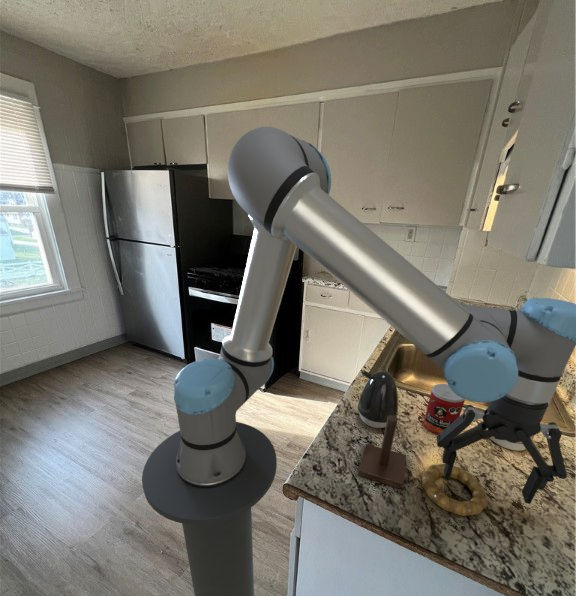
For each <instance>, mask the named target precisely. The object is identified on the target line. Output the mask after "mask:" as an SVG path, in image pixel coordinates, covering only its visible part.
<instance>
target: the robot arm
mask: <svg viewBox="0 0 576 596" xmlns="http://www.w3.org/2000/svg"><path fill="white" fill-rule="evenodd" d="M227 179H228V180H227V181H228V185H229V188H230V191H231V194H232V196H233V197H234V199H235V201H236V202H237V204H238V205H239V206H240V208H241V209H242V210H243V211H244V212H245V213H246V214H247V215H248V218H249V220H250V222H251V224H252V225H253V233H252V236H251V242H250V246H249V251H248V256H247V260H246V264H245V265H246V266H245V269H244V274H243V279H242V284H241V288H240V292H239V298H238V303H237V307H236V311H235V315H234V320H233V325H232V330H231V333H229V334H227V335H225V337H224V338H223V339H222V344H221V349H220V352H219V357H218V358H203V359H201V360H200V361H199V360H195V361H193V362H191V363H189V364H187V365H186V366H184V367H182V368H181V370H180V371H179V372H178V373H177V374H176V376H175V379H174V381H173V382H174V383H173V391H174V392H173V399H174V400H173V401H174V404H175V408H176V414H177V420H178V427H179V431H180V433H181V442H180V446H179V450H178V454H177V458H176V467H177V473H178V475H179V477H180V478H181V480H182V481H184V482H185V483H186V484H188V485H190V486H193V487H197V488H213V487H218V486H221V485H224V484H226V483H228V482H230V481H231V480H233V479H234V478H236V477H237V476H238V475H239V474H240V472H241V471H242V470H243V468H244V466H245V462H246V451H245V447H244V444H243V442H242V441H241V440H240V437H239V435H238V432H237V430H236V422H237V412H238V410H239V409H240V408H241V407H243V405H244V404H245V403H246V402H247V401H248V400H249V399H251V397H252V396H253V395H254V394H255V393H256V392H257V391H259V389H261V388H262V387H263V386H265V384H266V383H267V382H268V381H269V379H270V377H271V376H272V374H273V371H274V368H275V367H274V366H275V361H274V357H273V348H272V345H271V344H270V343H269V342H270V339H271V336H272V333H273V329H274V325H275V322H276V319H277V315H278V312H279V310H280V306H281V302H282V299H283V295H284V292H285V288H286V285H287V282H288V278H289V274H290V272H291V268H292V264H293V261H294V257H295V255H296V252H297V248H298V249H299V250H300V251H302V252H303V253H305V255H307V256H308V257H309V258H310V259H311V260H312V261H314V262H315V263H316V264H317V265H318V266H320V267H321V268H322V269H323V270H324V271H325V272H327V273H328V274H329V275H330V276H332V277H333V278H334V279H335V280H336V281H337V282H338V283H340V284H341V285H342V286H343V287H345V289H347V290H348V291H349V292H350V293H352V294H353V295H354V296H355V297H356V298H358V299H359V301H361V302H362V303H363V304H364V305H366V306H367V307H368V308H369V309H371V310H372V311H373V312H374V313H375V314H376V315H378V316H379V317H380V318H381V319H382V320H383V321H385V323H387V324H388V325H389V326H390V327H392V328H393V329H394V330H395V331H396V332H398V333H399V334H400V335H401V336H403V337H404V338H405V339H406V340H407V341H408V342H409V343H410V344H412V345H413V346H414V347H416V348H417V349H418V350H419V351H420V352H421V353H423V354H424V355H425V356H426V357H427V358H428V359H430V360H431V361H432V362H433V364H435V365H436V366H437V367H438V368H439V369H441V370H442V371H443V377H444V379H445V380H446V384H448V385H449V387H450V388H451V390H452V391H453V392H454V393H455V394H456V395H458V396H459V397H461V398H463V399H465V401H469V402H473V403H488V405H487V407H486V409H485V410H480V409H477V408H475V407H474V405H472V404H467V405H466V407H465V408H464V411H463V413H462V414H460V417H458V418H457V419H456V420H455V421H454V422H453V423H451V424H450V425H449V426H448V427H447V428H446V429H444V430H443V431H442V432H441V433H440V434H436V447H438V448H442V449H443V452H442V455H441V459H442V464H446V465H445V468H444V476H443V478H444V480H445V481H449V480H450V478H451V477H450V475H451V471H452V468H453V466H454V465H455V462H456V459H457V457H458V454H457V451H459V450H461V449H464V448H466V447H467V446H470V445H472V444H475V443H477V442H479V441H481V440H488V439H490V437H492V436H493V437H495V439H498V440H506V441H508V442H511V443H516V442H522V444H523V445H524V447H525V448H526V449H525V450H526V451H527V453H529V456H530V457H531V459H532V460H533V461H534V463H535V464H536V466H535V465H534V466H533V467H532V469H531V470H530V473H529V475H528V478H527V479H526V481H525V483H524V486H523V488H522V490H521V494H522V498H523V501H524V503H525V504H528V505H531V503H532V501H533V500H534V497H535V496H536V494H537V491H538V490H541V491H543V490H544V489H545V488H546V486H547V484H548V483H550V482H554V481H555V477H556V478H559V479H561V480H565V479H567V478H568V475H567V471H566V467H565V462H564V458H563V454H562V449H561V445H560V441H561V437H562V430H560V428H559V426H558V424H557V423H556V422H555V421H550V422H548V423H547V424H546V423H542V421H543V419H544V416H545V414H546V412H547V411H548V408H549V406H548V405H550V403H551V401H552V399H553V397H554V394H555V392H556V391H557V387H558V385H559V383H560V380H561V378H562V375H563V374H564V371H565V369H566V366H567V365H568V362H569V360H570V358H571V356H572V354H573V353H574V350H575V348H576V303H575V302H571V301H566V300H563V299H558V298H557V299H556V298H549V297H541V298H540V297H532V298H529V299H527V300H526V301H525V302H524V304H523V306H522V307H521V308H520V310H518V309H513V310H512V309H503V308H495V307H487V306H482V305H481V306H480V305H472V304H464V303H463V302H458V301H457V300H456V299H455V298H453V297H452V296H451V295H449V294H448V293H447V292H446V291H445V290H443V288H441V287H440V286H439V285H438V284H436V283H435V282H434V281H433V280H431V279H430V278H429V277H428V276H427V275H425V273H423V272H422V271H421V270H420V269H418V268H417V267H416V266H415V265H414V264H412V263H411V262H410V261H409V260H407V259H406V258H405V257H404V256H403V255H401V253H400V252H398V251H397V250H395V248H393V247H392V246H391V245H390V244H388V243H387V242H386V241H385V240H383V239H382V238H381V237H380V236H378V235H377V234H376V233H375V232H374V231H373V230H372V229H370V228H369V227H368V226H367V225H365V223H363V222H362V221H360V220H359V219H358V217H356V216H355V215H353V214H352V213H351V212H350V211H349V210H347V209H346V208H345V207H344V206H343V205H342V204H340V203H339V202H338V201H337V200H335V199H334V198H333V197H332V196H330V193H331V189H332V188H331V187H332V173H331V168H330V166H329V163H328V161H327V159H326V157H325V156H324V155H323V154H322V152H321V151H320V150H319V149H318V148H317V147H316V146H315V145H313V144H312V143H311V142H307V141H306V140H304V139H300V138H298V137H296V136H293V135H291V134H290V133H288V132H286V131H284V130H282V129H279V128H277V127H273V126H260V127H256V128H253V129H251V130H249V131H247V132H246V133H244V134H243V135H242V136H241V137H240V138H239V139H238V140H237V141H236V143H235V144H234V146H233V148H232V150H231V152H230V155H229V158H228V164H227ZM548 402H550V403H549V404H548ZM479 419H480V420H482V421H480V422H479V423H478V424H477V425H475V426H473V427H472V428H469V429H468V430H465V429H467V428H468V427H470V426H471V424H472V423H476V422H477V421H478V420H479ZM540 422H541V423H540ZM487 429H488V430H487ZM539 433H541V434H542V436H543V437H544V438H545V439H546V443H547V447H548V450H549V454H550V460H551V463H552V465H551V464H548V463H547V461H546V460H545V457H544V456H543V455H542V454H541V452H540V451H539V448H538V447H537V446H536V444H535V443H534V441H533V440H531V438H530V437H531V436H533V435H535V436H536V435H537V434H539Z"/></svg>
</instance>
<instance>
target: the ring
mask: <svg viewBox="0 0 576 596" xmlns="http://www.w3.org/2000/svg"><path fill="white" fill-rule="evenodd" d="M445 465H446V464H445V463H439V464H438V463H437V464H431V465H430V466H428V467H427V468H425V470H423V472H422V473H421V486H422V489H423V490H424V492H425V493H426V495H427V496H428V498H429V500H431V501H432V502H433V503H435V505H437V506H438V507H440V508H441V509H443V510H444V511H446V512H449V513H452V514H455V515H458V516H462V517H468V516H477V515H479V514H481V513H482V512H483V510H484V509H485V508H486V507H487V505H488V498H487V493H486V489H485V488H484V486H483V485H482V484H481V482H479V481H478V479H477V478H476V477H475V476H474V475H472V474H471V473H469V472H468V471H466V470H464V469H463V468H461V467H458V466H454V465H453V468H452V471H451V475H450V478H452V479H455V480H457V481H459V482H460V483H462V484H463V485H465V486H466V487H467V488H468V489H469V491H470V493H471V496H472V497H471V498H470V500H464V501H463V500H462V501H460V500H458V499H455V498H451V497H449V496H447V495H446V494H445V493H443V492H442V491H441V490H440V489H439V487H437V485H436V483H435V482H436V481H435V480H436V479H437V478H438V477H444V468H445Z"/></svg>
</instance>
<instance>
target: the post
mask: <svg viewBox="0 0 576 596" xmlns="http://www.w3.org/2000/svg"><path fill="white" fill-rule="evenodd" d="M398 421H399V418H398V416H397V417H395V416H392V415H390V416H388V418H387V423H386V427H384V428H385V430H384V433H383V437H382V438H383V439H382V443H381V447H379V446H375V445H373V444H368V443H366V444H365V446H364V451H363V455H362V458H361V462H360V466H359V469H358V476H359V477H362V478H365V479H368V480H371V481H373V482H374V481H375V482H377V483H378V482H379V483H381V484H384V485H387V486H390V487H393V488H397V489H400V490H403V486H404V482H405V471H406V461H407V455H406V454H404V453H400V452H398V451H397V452H396V451H393V450H392V448H393V443H394V440H395V439H394V438H395V434H396V431H397V426H398Z"/></svg>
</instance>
